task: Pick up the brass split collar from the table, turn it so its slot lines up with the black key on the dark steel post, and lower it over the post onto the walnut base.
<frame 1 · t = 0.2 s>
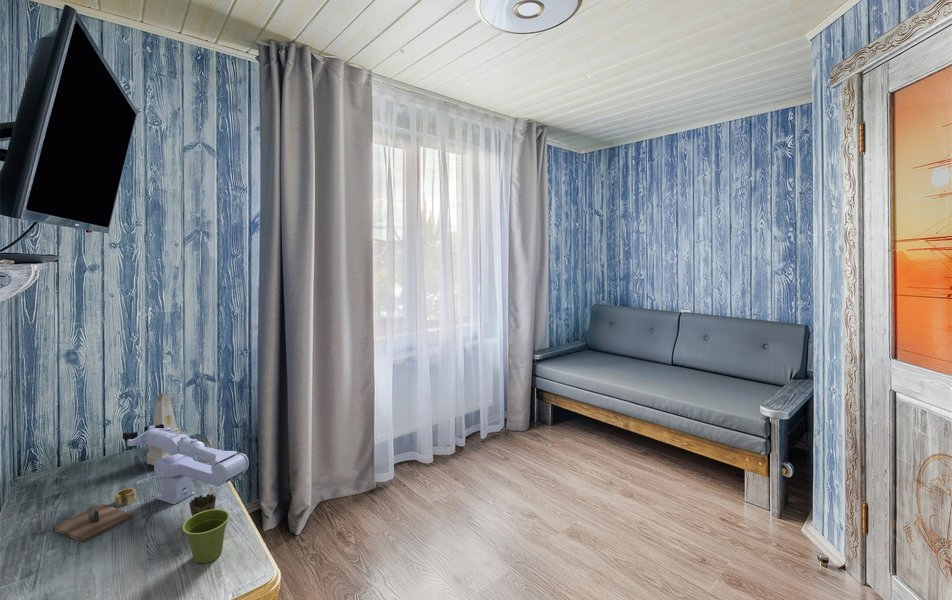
hand: (134, 432, 165), 21 cm above the table, tool horizontal, fingers open, 7 cm apart
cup: (203, 523, 146), on the table
miniature monument: (166, 461, 186), on the table
brass collar: (125, 501, 156), on the table
plant pot: (207, 556, 130), on the table
post stand: (93, 523, 144), on the table
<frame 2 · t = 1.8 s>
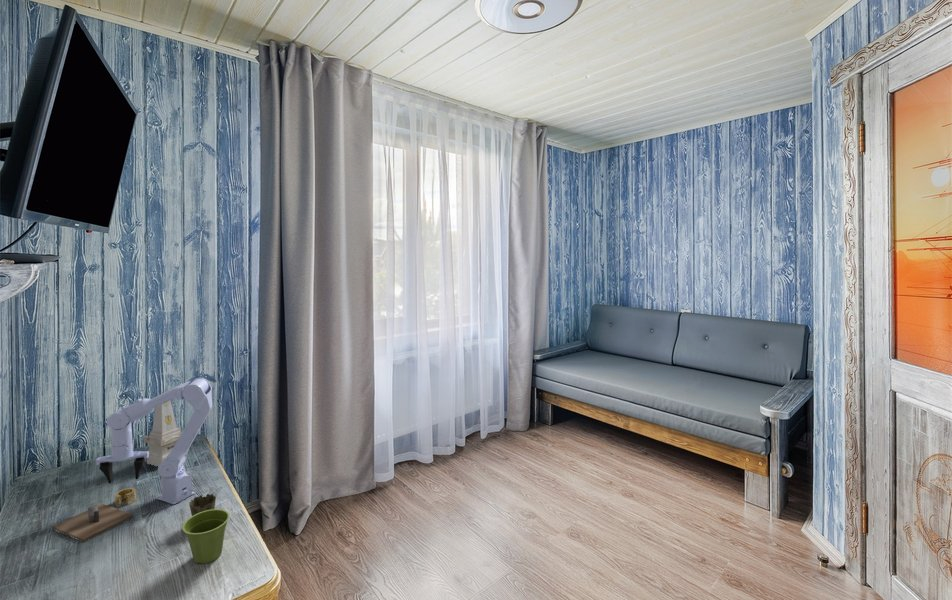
hand: (124, 480, 155), 8 cm above the table, tool pointing down, fingers open, 7 cm apart
nothing on the table moved.
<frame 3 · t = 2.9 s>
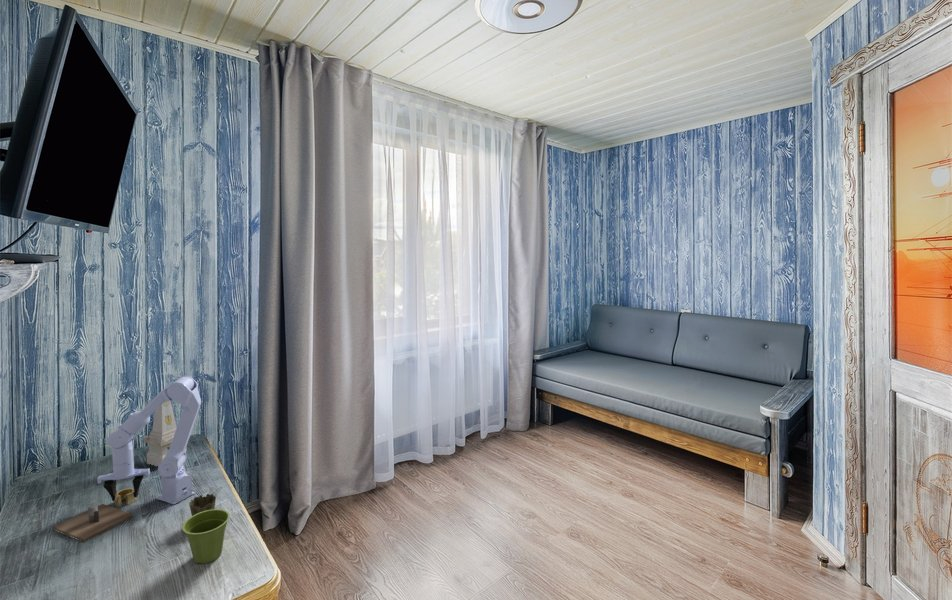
hand: (125, 497, 156), 1 cm above the table, tool pointing down, fingers closed on brass collar, 6 cm apart
brass collar: (125, 501, 156), on the table, touching gripper
everything else where it was.
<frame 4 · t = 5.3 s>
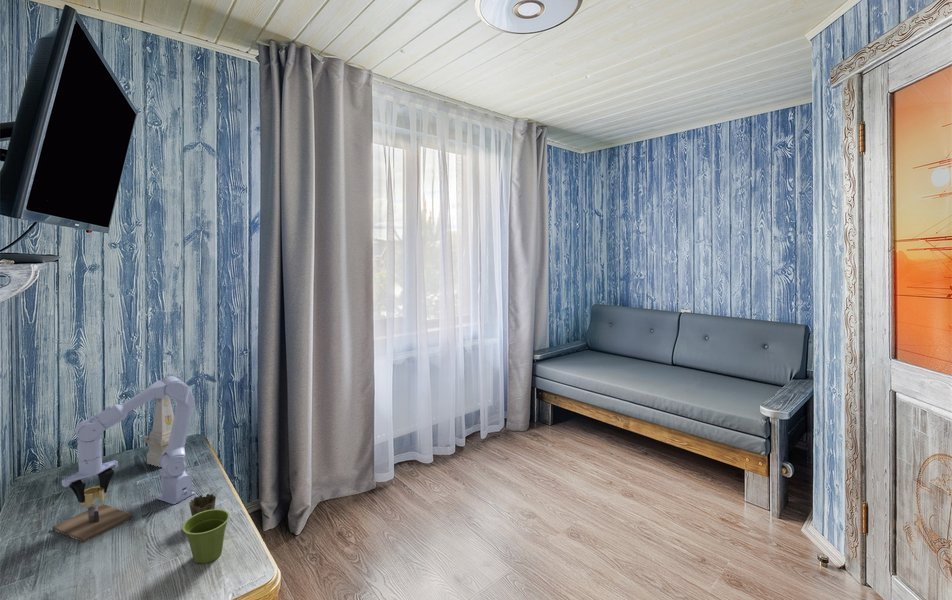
hand: (92, 496, 143), 9 cm above the table, tool pointing down, fingers closed on brass collar, 6 cm apart
brass collar: (92, 500, 143), point 8 cm above the table, touching gripper
everything else where it was.
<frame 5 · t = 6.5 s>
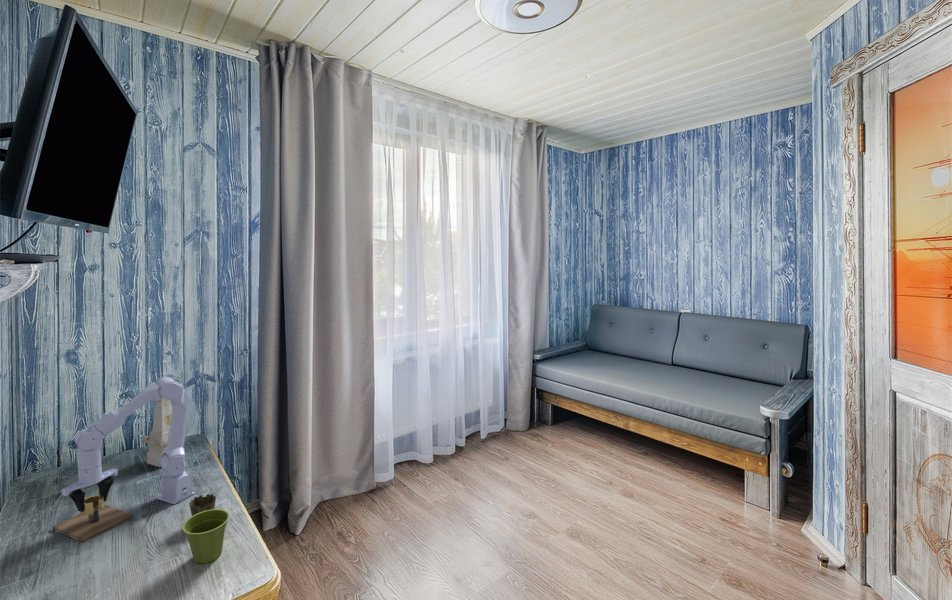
hand: (92, 505, 143), 6 cm above the table, tool pointing down, fingers closed on brass collar, 6 cm apart
brass collar: (92, 509, 143), point 5 cm above the table, touching gripper
everything else where it was.
when the fingers open (3 cm above the table, at t = 7.7 s): brass collar stays where it is, resting on post stand.
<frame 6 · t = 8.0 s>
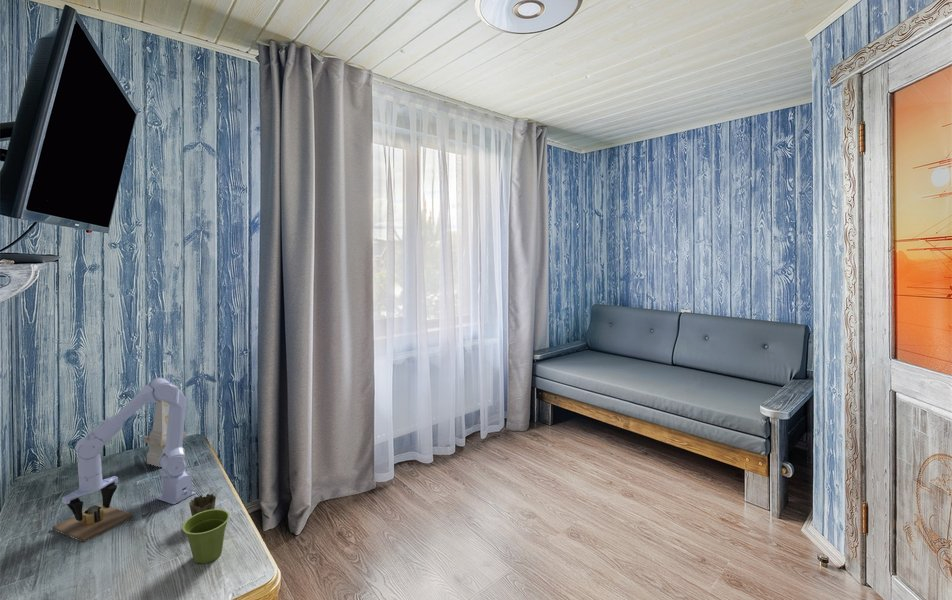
hand: (93, 513, 143), 3 cm above the table, tool pointing down, fingers open, 7 cm apart
brass collar: (93, 520, 144), point 1 cm above the table, touching post stand
everything else where it was.
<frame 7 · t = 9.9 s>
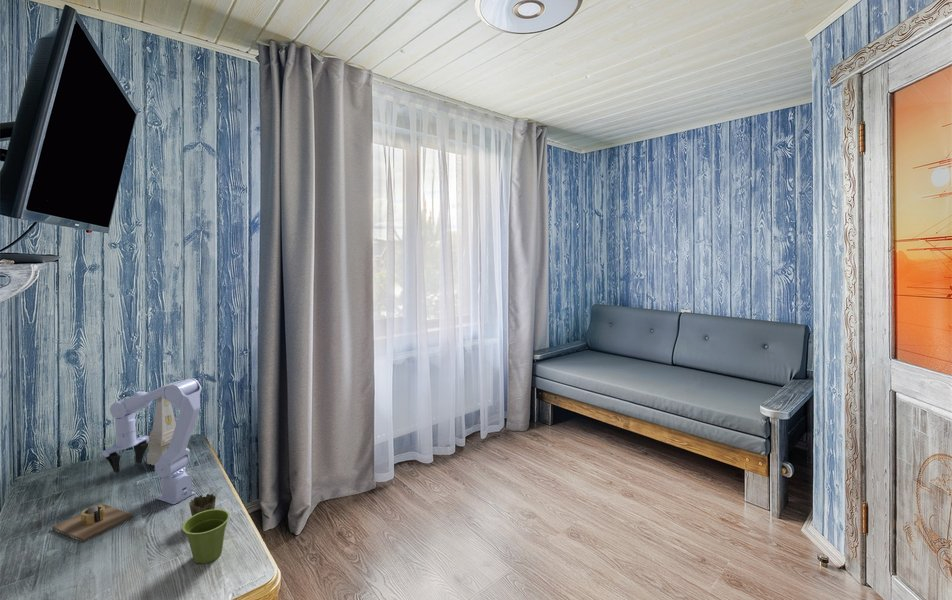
hand: (127, 467, 162), 9 cm above the table, tool pointing down, fingers open, 7 cm apart
nothing on the table moved.
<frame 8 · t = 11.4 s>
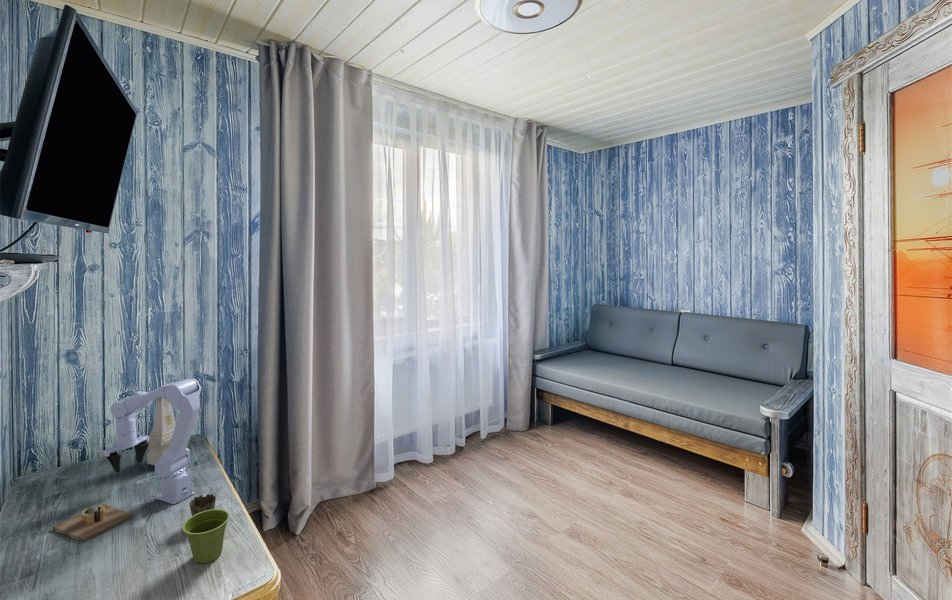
hand: (128, 466, 162), 9 cm above the table, tool pointing down, fingers open, 7 cm apart
nothing on the table moved.
at the end: brass collar 0.0 cm off-centre on the post stand, point 1.0 cm above the post stand's base; brass collar tilted 0°; the gripper is holding nothing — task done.
